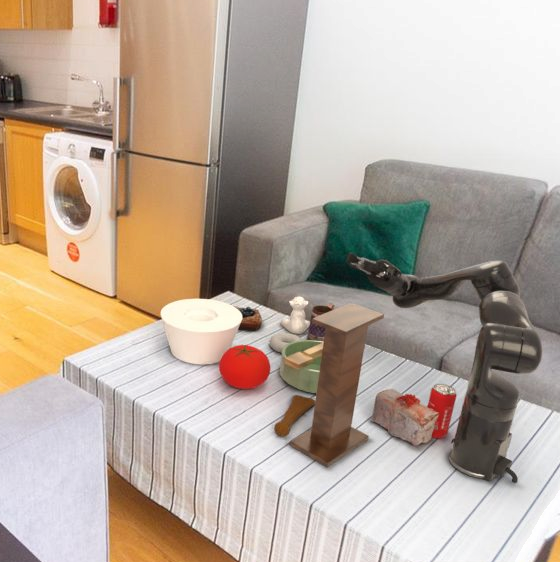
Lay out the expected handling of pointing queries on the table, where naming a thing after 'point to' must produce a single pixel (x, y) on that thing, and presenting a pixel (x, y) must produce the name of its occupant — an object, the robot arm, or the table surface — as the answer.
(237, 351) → the tomato
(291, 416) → the primitive tool
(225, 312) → the white tapered cylinder
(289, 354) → the mixing bowl
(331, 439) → the stand
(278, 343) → the donut
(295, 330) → the white creature statuette
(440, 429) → the beverage can
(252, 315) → the pastry
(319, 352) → the wooden paddle
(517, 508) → the table surface
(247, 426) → the table surface
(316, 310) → the mug
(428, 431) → the food item
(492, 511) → the table surface
